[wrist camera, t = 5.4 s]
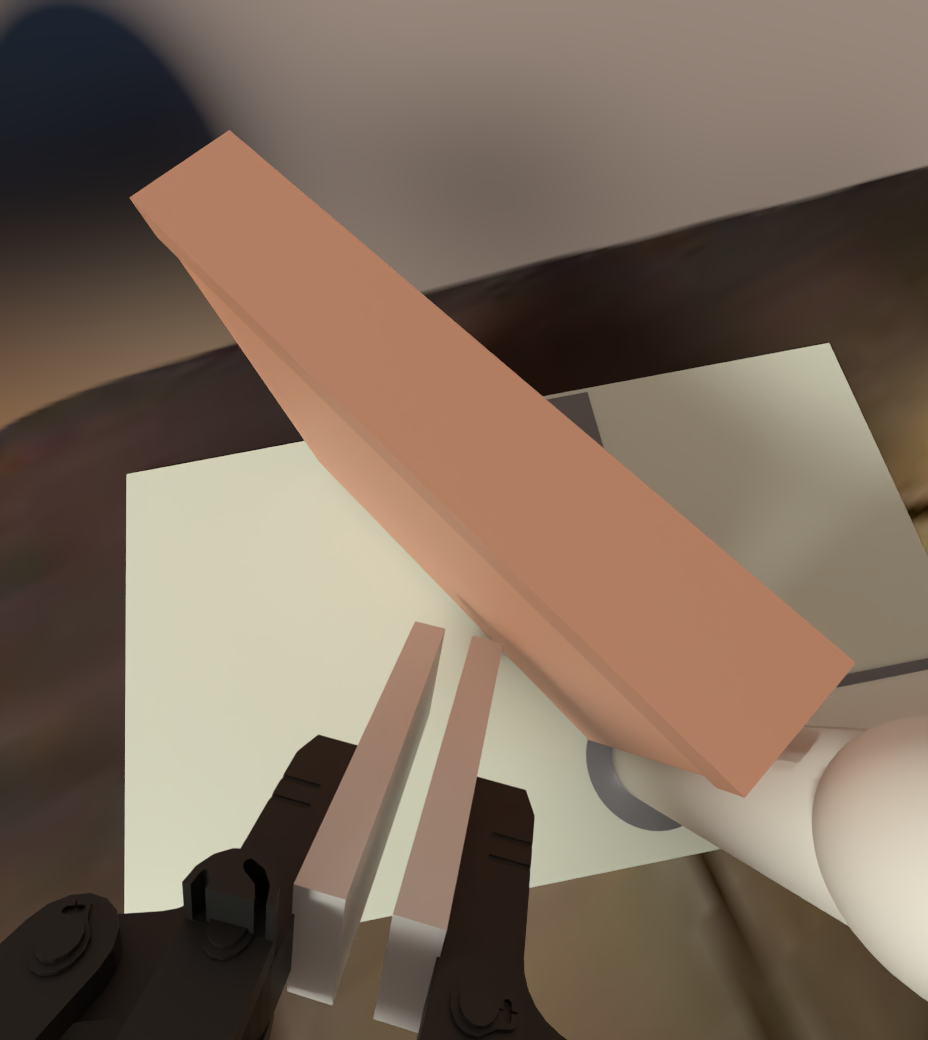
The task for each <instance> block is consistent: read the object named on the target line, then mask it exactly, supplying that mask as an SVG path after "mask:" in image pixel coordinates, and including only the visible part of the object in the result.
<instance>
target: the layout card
mask: <svg viewBox="0 0 928 1040" xmlns="http://www.w3.org/2000/svg"><path fill="white" fill-rule="evenodd" d="M543 397H544V398H545V399H546V400H547V401H549V402H550V403H551V404H552V405H553V406H555V407H556V408H557V409H558V410H559V411H560V412H562V413H563V414H564V415H565V416H566V417H567V418H569V419H570V420H571V421H572V422H573V423H575V424H576V425H577V426H578V427H579V428H580V429H582V430H583V431H584V432H585V433H586V434H587V435H589V436H590V437H591V438H592V439H593V440H595V441H596V442H597V443H598V444H599V445H600V446H602V447H603V448H604V449H605V450H606V451H607V452H609V453H610V454H611V455H612V456H613V457H615V458H616V459H617V460H618V461H619V462H620V463H622V464H623V465H624V466H625V467H626V468H627V469H629V470H630V471H631V472H632V473H633V474H635V475H636V476H637V477H638V478H639V479H640V480H642V481H643V482H644V483H645V484H646V485H647V486H649V487H650V488H651V489H652V490H653V491H655V492H656V493H657V494H658V495H659V496H660V497H662V498H663V499H664V500H665V501H666V502H667V503H669V504H670V505H671V506H672V507H673V508H675V509H676V510H677V511H678V512H679V513H680V514H682V515H683V516H684V517H685V518H686V519H687V520H689V521H690V522H691V523H692V524H693V525H695V526H696V527H697V528H698V529H699V530H700V531H702V532H703V533H704V534H705V535H706V536H707V537H709V538H710V539H711V540H712V541H713V542H715V543H716V544H717V545H718V546H719V547H720V548H722V549H723V550H724V551H725V552H726V553H727V554H729V555H730V556H731V557H732V558H733V559H735V560H736V561H737V562H738V563H739V564H740V565H742V566H743V567H744V568H745V569H746V570H747V571H749V572H750V573H751V574H752V575H753V576H755V577H756V578H757V579H758V580H759V581H760V582H762V583H763V584H764V585H765V586H766V587H768V588H769V589H770V590H771V591H772V592H773V593H775V594H776V595H777V596H778V597H779V598H780V599H782V600H783V601H784V602H785V603H786V604H788V605H789V606H790V607H791V608H792V609H793V610H795V611H796V612H797V613H798V614H799V615H800V616H802V617H803V618H804V619H805V620H806V621H808V622H809V623H810V624H811V625H812V626H813V627H815V628H816V629H817V630H818V631H819V632H820V633H822V634H823V635H824V636H825V637H826V638H828V639H829V640H830V641H831V642H832V643H833V644H835V645H836V646H837V647H838V648H839V649H840V650H842V651H843V652H844V653H845V654H846V655H848V656H849V657H850V658H851V659H852V660H853V661H855V662H856V664H855V665H854V666H853V667H852V668H851V670H850V671H849V672H848V673H847V674H846V676H845V677H844V678H843V679H842V681H841V682H840V683H839V684H838V685H837V687H842V686H847V685H852V684H858V683H863V682H868V681H873V680H878V679H883V678H888V677H893V676H898V675H903V674H908V673H913V672H918V671H923V670H928V555H927V553H926V551H925V548H924V546H923V544H922V542H921V540H920V538H919V535H918V533H917V531H916V529H915V527H914V525H913V523H912V520H911V518H910V516H909V514H908V512H907V510H906V507H905V505H904V503H903V501H902V499H901V497H900V494H899V492H898V490H897V488H896V486H895V484H894V482H893V479H892V477H891V475H890V473H889V471H888V469H887V466H886V464H885V462H884V460H883V458H882V456H881V454H880V451H879V449H878V447H877V445H876V443H875V441H874V438H873V436H872V434H871V432H870V430H869V428H868V425H867V423H866V421H865V419H864V417H863V415H862V413H861V410H860V408H859V406H858V404H857V402H856V400H855V397H854V395H853V393H852V391H851V389H850V387H849V384H848V382H847V380H846V378H845V376H844V374H843V372H842V369H841V367H840V365H839V363H838V361H837V359H836V356H835V354H834V352H833V350H832V348H831V346H830V343H826V344H820V345H815V346H810V347H804V348H799V349H794V350H788V351H783V352H778V353H772V354H767V355H762V356H756V357H751V358H746V359H740V360H735V361H730V362H724V363H719V364H714V365H708V366H703V367H697V368H692V369H687V370H681V371H676V372H671V373H665V374H660V375H655V376H649V377H644V378H639V379H633V380H628V381H623V382H617V383H612V384H607V385H601V386H596V387H591V388H585V389H580V390H575V391H569V392H564V393H558V394H553V395H548V396H543ZM415 621H416V622H420V623H424V624H428V625H432V626H436V627H440V628H444V629H445V633H444V639H443V644H442V650H441V655H440V660H439V666H438V671H437V676H436V682H435V687H434V693H433V698H432V703H431V709H430V714H429V717H428V720H427V723H426V726H425V729H424V732H423V735H422V738H421V741H420V744H419V747H418V750H417V753H416V756H415V759H414V762H413V765H412V768H411V771H410V774H409V777H408V780H407V783H406V786H405V789H404V792H403V795H402V798H401V801H400V804H399V807H398V810H397V813H396V816H395V819H394V822H393V825H392V828H391V831H390V834H389V837H388V840H387V843H386V846H385V849H384V852H383V855H382V858H381V861H380V864H379V867H378V870H377V873H376V876H375V879H374V882H373V885H372V888H371V891H370V894H369V897H368V900H367V903H366V906H365V909H364V912H363V915H362V918H361V921H360V922H363V921H368V920H373V919H378V918H383V917H387V916H392V915H393V912H394V908H395V905H396V901H397V898H398V894H399V891H400V887H401V884H402V880H403V877H404V873H405V870H406V866H407V863H408V859H409V856H410V852H411V849H412V845H413V842H414V838H415V835H416V831H417V828H418V824H419V821H420V817H421V814H422V810H423V807H424V803H425V800H426V796H427V793H428V789H429V786H430V782H431V779H432V775H433V772H434V768H435V765H436V761H437V758H438V754H439V751H440V747H441V744H442V740H443V737H444V733H445V730H446V726H447V723H448V719H449V716H450V712H451V709H452V705H453V702H454V698H455V695H456V691H457V688H458V684H459V681H460V677H461V674H462V670H463V667H464V663H465V660H466V656H467V653H468V649H469V646H470V642H471V639H472V636H476V637H480V638H484V639H488V640H492V639H491V638H490V637H489V636H488V635H487V634H486V633H485V632H484V631H483V630H482V629H481V628H480V627H479V626H478V625H477V624H476V623H475V622H474V621H473V620H472V619H471V618H470V617H469V616H468V615H467V614H466V613H465V612H464V611H463V610H462V609H461V607H460V606H459V605H458V604H457V603H456V602H455V601H454V600H453V599H452V598H451V597H450V596H449V595H448V594H447V593H446V592H445V591H444V590H443V589H442V588H441V587H440V586H439V585H438V584H437V583H436V582H435V581H434V580H433V579H432V578H431V577H430V576H429V574H428V573H427V572H426V571H425V570H424V569H423V568H422V567H421V566H420V565H419V564H418V563H417V562H416V561H415V560H414V559H413V558H412V557H411V556H410V555H409V554H408V553H407V552H406V551H405V550H404V549H403V548H402V547H401V546H400V545H399V544H398V543H397V541H396V540H395V539H394V538H393V537H392V536H391V535H390V534H389V533H388V532H387V531H386V530H385V529H384V528H383V527H382V526H381V525H380V524H379V523H378V522H377V521H376V520H375V519H374V518H373V517H372V516H371V515H370V514H369V513H368V512H367V511H366V510H365V508H364V507H363V506H362V505H361V504H360V503H359V502H358V501H357V500H356V499H355V498H354V497H353V496H352V495H351V494H350V493H349V492H348V491H347V490H346V489H345V488H344V487H343V486H342V485H341V484H340V483H339V482H338V481H337V480H336V479H335V478H334V477H333V475H332V474H331V473H330V472H329V471H328V470H327V469H326V468H325V467H324V466H323V465H322V464H321V463H320V462H319V461H318V459H317V458H316V456H315V455H314V454H313V452H312V451H311V449H310V448H309V446H308V445H307V443H306V442H305V441H302V442H297V443H291V444H286V445H280V446H275V447H270V448H264V449H259V450H254V451H248V452H243V453H238V454H232V455H227V456H222V457H216V458H211V459H206V460H200V461H195V462H190V463H184V464H179V465H174V466H168V467H163V468H158V469H152V470H147V471H141V472H136V473H131V474H127V492H126V699H125V905H124V914H125V913H140V912H154V911H165V910H170V909H176V908H179V907H182V906H184V903H183V889H182V882H183V880H184V879H185V878H186V877H187V876H188V874H189V873H190V872H191V871H192V870H193V868H194V867H195V866H196V865H198V864H199V863H201V862H202V861H204V860H205V859H207V858H208V857H210V856H211V855H213V854H215V853H218V852H222V851H225V850H229V849H232V848H241V847H242V845H243V843H244V841H245V840H246V838H247V836H248V835H249V833H250V831H251V829H252V828H253V826H254V824H255V823H256V821H257V819H258V817H259V816H260V814H261V812H262V811H263V809H264V807H265V805H266V804H267V802H268V800H269V799H270V798H271V797H272V794H273V792H274V790H275V788H276V787H277V785H278V783H279V781H280V780H281V779H282V778H283V775H284V773H285V771H286V769H287V768H288V766H289V764H290V762H291V761H292V759H293V757H294V756H295V754H296V752H297V751H298V750H299V749H301V748H302V747H303V746H304V745H306V744H307V743H308V742H309V741H311V740H312V739H313V738H314V737H316V736H317V735H322V736H326V737H329V738H333V739H336V740H340V741H344V742H347V743H351V744H355V745H358V744H359V742H360V739H361V737H362V735H363V733H364V731H365V729H366V726H367V724H368V722H369V720H370V718H371V716H372V713H373V711H374V709H375V707H376V705H377V703H378V700H379V698H380V696H381V694H382V692H383V690H384V687H385V685H386V683H387V681H388V679H389V677H390V674H391V672H392V670H393V668H394V666H395V664H396V661H397V659H398V657H399V655H400V653H401V651H402V648H403V646H404V644H405V642H406V640H407V638H408V636H409V633H410V631H411V629H412V627H413V625H414V623H415ZM492 641H493V640H492ZM837 687H836V688H837ZM477 777H481V778H484V779H488V780H492V781H495V782H499V783H502V784H506V785H510V786H513V787H517V788H521V789H524V790H526V792H527V795H528V797H529V800H530V803H531V806H532V809H533V812H534V815H535V819H534V832H533V844H532V858H531V867H530V884H529V888H531V887H536V886H541V885H545V884H550V883H555V882H560V881H565V880H570V879H575V878H580V877H585V876H590V875H595V874H600V873H605V872H610V871H615V870H619V869H624V868H629V867H634V866H639V865H644V864H649V863H654V862H659V861H664V860H669V859H674V858H679V857H684V856H689V855H694V854H698V853H703V852H708V851H713V850H718V849H720V848H718V847H717V846H715V845H714V844H712V843H710V842H709V841H707V840H705V839H704V838H702V837H700V836H699V835H697V834H695V833H694V832H692V831H690V830H689V829H687V828H685V827H684V826H682V825H680V824H679V823H677V822H676V821H674V820H672V819H671V818H669V817H667V816H666V815H664V814H662V813H661V812H659V811H657V810H656V809H654V808H652V807H651V806H649V805H647V804H646V803H644V802H642V801H641V800H639V799H638V798H636V797H634V796H633V795H631V794H630V793H629V792H627V791H626V790H625V788H624V787H623V786H622V785H621V784H620V782H619V780H618V779H617V777H616V775H615V772H614V769H613V765H612V747H610V746H606V745H603V744H600V743H597V742H594V741H590V740H589V739H588V738H587V737H586V736H585V735H584V734H583V733H582V732H581V731H580V730H579V729H578V728H577V727H576V726H575V725H574V724H573V723H572V722H571V721H570V720H569V719H568V718H567V717H566V716H565V715H564V714H563V713H562V712H561V711H560V710H559V709H558V707H557V706H556V705H555V704H554V703H553V702H552V701H551V700H550V699H549V698H548V697H547V696H546V695H545V694H544V693H543V692H542V691H541V690H540V689H539V688H538V687H537V686H536V685H535V684H534V683H533V682H532V681H531V680H530V679H529V678H528V677H527V676H526V674H525V673H524V672H523V671H522V670H521V669H520V668H519V667H518V666H517V665H516V664H515V663H514V662H513V661H512V660H511V659H510V658H509V657H508V656H507V655H506V654H505V653H504V652H503V651H502V653H501V658H500V663H499V668H498V673H497V678H496V683H495V688H494V693H493V698H492V703H491V708H490V713H489V719H488V724H487V729H486V734H485V739H484V744H483V749H482V754H481V759H480V764H479V769H478V774H477Z"/></svg>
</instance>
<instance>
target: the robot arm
mask: <svg viewBox="0 0 928 1040" xmlns="http://www.w3.org/2000/svg"><path fill="white" fill-rule="evenodd" d="M444 633H445V629H444V628H440V627H436V626H432V625H428V624H424V623H420V622H416V621H415V623H414V625H413V627H412V629H411V631H410V633H409V636H408V638H407V640H406V642H405V644H404V646H403V648H402V651H401V653H400V655H399V657H398V659H397V661H396V664H395V666H394V668H393V670H392V672H391V674H390V677H389V679H388V681H387V683H386V685H385V687H384V690H383V692H382V694H381V696H380V698H379V700H378V703H377V705H376V707H375V709H374V711H373V713H372V716H371V718H370V720H369V722H368V724H367V726H366V729H365V731H364V733H363V735H362V737H361V739H360V742H359V744H358V745H355V744H351V743H347V742H344V741H340V740H336V739H333V738H329V737H326V736H322V735H317V736H316V737H314V738H313V739H312V740H311V741H309V742H308V743H307V744H306V745H304V746H303V747H302V748H301V749H299V750H298V751H297V752H296V754H295V756H294V757H293V759H292V761H291V762H290V764H289V766H288V768H287V769H286V771H285V773H284V775H283V778H282V779H281V780H280V781H279V783H278V785H277V787H276V788H275V790H274V792H273V794H272V797H271V798H270V799H269V800H268V802H267V804H266V805H265V807H264V809H263V811H262V812H261V814H260V816H259V817H258V819H257V821H256V823H255V824H254V826H253V828H252V829H251V831H250V833H249V835H248V836H247V838H246V840H245V841H244V843H243V845H242V847H241V848H232V849H229V850H225V851H222V852H218V853H215V854H213V855H211V856H210V857H208V858H207V859H205V860H204V861H202V862H201V863H199V864H198V865H196V866H195V867H194V868H193V870H192V871H191V872H190V873H189V874H188V876H187V877H186V878H185V879H184V880H183V882H182V889H183V903H184V906H182V907H179V908H176V909H170V910H165V911H154V912H140V913H125V914H117V910H116V909H115V908H114V906H113V905H112V904H111V903H110V902H109V901H108V899H107V898H104V897H100V896H97V895H94V894H91V893H88V894H78V895H69V896H67V897H64V898H62V899H60V900H57V901H55V902H52V903H50V904H48V905H46V906H45V907H43V908H42V909H41V910H39V911H38V912H36V913H35V914H34V915H32V916H31V917H30V918H28V919H27V920H26V921H25V922H24V923H22V924H21V925H20V926H19V927H18V928H17V929H16V930H15V931H14V932H13V933H12V934H10V935H9V936H8V937H7V938H6V939H5V940H4V941H3V942H2V943H1V944H0V1040H269V1038H270V1033H271V1028H272V1023H273V1018H274V1010H275V1007H276V1005H277V1003H278V1000H279V998H280V995H281V993H282V990H283V988H284V985H285V983H286V981H287V978H288V983H287V991H288V992H292V993H295V994H298V995H301V996H304V997H307V998H310V999H313V1000H316V1001H320V1002H323V1003H326V1004H329V1005H333V1002H334V999H335V996H336V993H337V990H338V987H339V984H340V981H341V978H342V975H343V972H344V969H345V966H346V963H347V960H348V957H349V954H350V951H351V948H352V945H353V942H354V939H355V936H356V933H357V930H358V927H359V924H360V921H361V918H362V915H363V912H364V909H365V906H366V903H367V900H368V897H369V894H370V891H371V888H372V885H373V882H374V879H375V876H376V873H377V870H378V867H379V864H380V861H381V858H382V855H383V852H384V849H385V846H386V843H387V840H388V837H389V834H390V831H391V828H392V825H393V822H394V819H395V816H396V813H397V810H398V807H399V804H400V801H401V798H402V795H403V792H404V789H405V786H406V783H407V780H408V777H409V774H410V771H411V768H412V765H413V762H414V759H415V756H416V753H417V750H418V747H419V744H420V741H421V738H422V735H423V732H424V729H425V726H426V723H427V720H428V717H429V714H430V709H431V703H432V698H433V693H434V687H435V682H436V676H437V671H438V666H439V660H440V655H441V650H442V644H443V639H444ZM502 647H503V643H500V642H496V641H492V640H488V639H484V638H480V637H476V636H472V639H471V642H470V646H469V649H468V653H467V656H466V660H465V663H464V667H463V670H462V674H461V677H460V681H459V684H458V688H457V691H456V695H455V698H454V702H453V705H452V709H451V712H450V716H449V719H448V723H447V726H446V730H445V733H444V737H443V740H442V744H441V747H440V751H439V754H438V758H437V761H436V765H435V768H434V772H433V775H432V779H431V782H430V786H429V789H428V793H427V796H426V800H425V803H424V807H423V810H422V814H421V817H420V821H419V824H418V828H417V831H416V835H415V838H414V842H413V845H412V849H411V852H410V856H409V859H408V863H407V866H406V870H405V873H404V877H403V880H402V884H401V887H400V891H399V894H398V898H397V901H396V905H395V908H394V912H393V916H392V921H391V927H390V932H389V937H388V943H387V948H386V954H385V959H384V964H383V970H382V975H381V980H380V986H379V991H378V996H377V1002H376V1007H375V1012H374V1018H373V1019H375V1020H378V1021H381V1022H385V1023H388V1024H391V1025H394V1026H397V1027H400V1028H403V1029H406V1030H410V1031H413V1032H416V1033H418V1037H417V1040H567V1039H565V1038H564V1037H563V1036H561V1035H560V1034H559V1033H558V1032H557V1031H556V1030H555V1029H554V1028H552V1027H551V1026H550V1025H549V1024H548V1023H547V1022H546V1021H545V1019H544V1018H543V1016H542V1015H541V1013H540V1012H539V1011H538V1009H537V1008H536V1006H535V1004H534V1002H533V1000H532V997H531V995H530V993H529V991H528V987H527V983H526V979H525V974H524V949H525V936H526V923H527V910H528V897H529V884H530V867H531V858H532V844H533V832H534V819H535V815H534V812H533V809H532V806H531V803H530V800H529V797H528V795H527V792H526V790H524V789H521V788H517V787H513V786H510V785H506V784H502V783H499V782H495V781H492V780H488V779H484V778H481V777H477V774H478V769H479V764H480V759H481V754H482V749H483V744H484V739H485V734H486V729H487V724H488V719H489V713H490V708H491V703H492V698H493V693H494V688H495V683H496V678H497V673H498V668H499V663H500V658H501V653H502Z"/></svg>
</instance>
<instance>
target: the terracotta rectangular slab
mask: <svg viewBox="0 0 928 1040" xmlns="http://www.w3.org/2000/svg"><path fill="white" fill-rule="evenodd" d="M130 199H131V200H132V202H133V203H134V205H135V206H136V208H137V209H138V210H139V212H140V213H141V215H142V216H143V218H144V219H145V220H146V222H147V223H148V225H149V226H150V227H151V229H152V230H153V232H154V233H155V235H156V236H157V237H158V238H159V239H160V240H161V241H162V242H163V243H164V244H165V245H166V246H167V247H168V248H169V249H170V250H171V251H172V252H173V253H174V254H175V255H176V256H177V257H178V258H179V259H180V261H181V262H182V264H183V265H184V266H185V268H186V269H187V271H188V272H189V274H190V275H191V277H192V278H193V280H194V281H195V282H196V284H197V285H198V287H199V288H200V290H201V291H202V293H203V294H204V295H205V297H206V298H207V300H208V301H209V303H210V304H211V306H212V307H213V308H214V310H215V311H216V312H217V314H218V316H219V317H220V318H221V320H222V322H223V323H224V324H225V326H226V327H227V329H228V330H229V332H230V333H231V335H232V336H233V337H234V339H235V340H236V342H237V343H238V345H239V346H240V348H241V349H242V351H243V352H244V353H245V355H246V356H247V358H248V359H249V361H250V362H251V364H252V365H253V367H254V368H255V369H256V371H257V372H258V374H259V375H260V377H261V378H262V380H263V381H264V382H265V384H266V385H267V387H268V388H269V390H270V391H271V393H272V394H273V396H274V397H275V398H276V400H277V401H278V403H279V404H280V406H281V407H282V409H283V410H284V411H285V413H286V414H287V416H288V417H289V419H290V420H291V422H292V423H293V425H294V426H295V427H296V429H297V430H298V432H299V433H300V435H301V436H302V438H303V439H304V440H305V442H306V443H307V445H308V446H309V448H310V449H311V451H312V452H313V454H314V455H315V456H316V458H317V459H318V461H319V462H320V463H321V464H322V465H323V466H324V467H325V468H326V469H327V470H328V471H329V472H330V473H331V474H332V475H333V477H334V478H335V479H336V480H337V481H338V482H339V483H340V484H341V485H342V486H343V487H344V488H345V489H346V490H347V491H348V492H349V493H350V494H351V495H352V496H353V497H354V498H355V499H356V500H357V501H358V502H359V503H360V504H361V505H362V506H363V507H364V508H365V510H366V511H367V512H368V513H369V514H370V515H371V516H372V517H373V518H374V519H375V520H376V521H377V522H378V523H379V524H380V525H381V526H382V527H383V528H384V529H385V530H386V531H387V532H388V533H389V534H390V535H391V536H392V537H393V538H394V539H395V540H396V541H397V543H398V544H399V545H400V546H401V547H402V548H403V549H404V550H405V551H406V552H407V553H408V554H409V555H410V556H411V557H412V558H413V559H414V560H415V561H416V562H417V563H418V564H419V565H420V566H421V567H422V568H423V569H424V570H425V571H426V572H427V573H428V574H429V576H430V577H431V578H432V579H433V580H434V581H435V582H436V583H437V584H438V585H439V586H440V587H441V588H442V589H443V590H444V591H445V592H446V593H447V594H448V595H449V596H450V597H451V598H452V599H453V600H454V601H455V602H456V603H457V604H458V605H459V606H460V607H461V609H462V610H463V611H464V612H465V613H466V614H467V615H468V616H469V617H470V618H471V619H472V620H473V621H474V622H475V623H476V624H477V625H478V626H479V627H480V628H481V629H482V630H483V631H484V632H485V633H486V634H487V635H488V636H489V637H490V638H491V639H492V640H493V641H496V642H500V643H503V647H502V651H503V652H504V653H505V654H506V655H507V656H508V657H509V658H510V659H511V660H512V661H513V662H514V663H515V664H516V665H517V666H518V667H519V668H520V669H521V670H522V671H523V672H524V673H525V674H526V676H527V677H528V678H529V679H530V680H531V681H532V682H533V683H534V684H535V685H536V686H537V687H538V688H539V689H540V690H541V691H542V692H543V693H544V694H545V695H546V696H547V697H548V698H549V699H550V700H551V701H552V702H553V703H554V704H555V705H556V706H557V707H558V709H559V710H560V711H561V712H562V713H563V714H564V715H565V716H566V717H567V718H568V719H569V720H570V721H571V722H572V723H573V724H574V725H575V726H576V727H577V728H578V729H579V730H580V731H581V732H582V733H583V734H584V735H585V736H586V737H587V738H588V739H589V740H590V741H594V742H597V743H600V744H603V745H606V746H610V747H613V748H616V749H619V750H622V751H626V752H629V753H632V754H635V755H638V756H642V757H645V758H648V759H651V760H654V761H658V762H661V763H664V764H667V765H670V766H674V767H677V768H680V769H683V770H686V771H690V772H693V773H696V774H699V775H702V776H705V777H706V778H707V779H708V780H709V781H710V782H711V783H712V784H713V785H714V786H715V787H716V788H718V789H721V790H724V791H727V792H730V793H733V794H735V795H738V796H741V797H744V798H745V797H746V796H747V795H748V793H749V792H750V791H751V790H752V789H753V787H754V786H755V785H756V784H757V783H758V781H759V780H760V779H761V778H762V776H763V775H764V774H765V773H766V772H767V770H768V769H769V768H770V767H771V766H772V764H773V763H774V762H775V761H776V759H777V758H778V757H779V756H780V755H781V753H782V752H783V751H784V750H785V749H786V747H787V746H788V745H789V744H790V742H791V741H792V740H793V739H794V738H795V736H796V735H797V734H798V733H799V732H800V730H801V729H802V728H803V727H804V725H805V724H806V723H807V722H808V721H809V719H810V718H811V717H812V716H813V715H814V713H815V712H816V711H817V710H818V708H819V707H820V706H821V705H822V704H823V702H824V701H825V700H826V699H827V698H828V696H829V695H830V694H831V693H832V691H833V690H834V689H835V688H836V687H837V685H838V684H839V683H840V682H841V681H842V679H843V678H844V677H845V676H846V674H847V673H848V672H849V671H850V670H851V668H852V667H853V666H854V665H855V664H856V662H855V661H853V660H852V659H851V658H850V657H849V656H848V655H846V654H845V653H844V652H843V651H842V650H840V649H839V648H838V647H837V646H836V645H835V644H833V643H832V642H831V641H830V640H829V639H828V638H826V637H825V636H824V635H823V634H822V633H820V632H819V631H818V630H817V629H816V628H815V627H813V626H812V625H811V624H810V623H809V622H808V621H806V620H805V619H804V618H803V617H802V616H800V615H799V614H798V613H797V612H796V611H795V610H793V609H792V608H791V607H790V606H789V605H788V604H786V603H785V602H784V601H783V600H782V599H780V598H779V597H778V596H777V595H776V594H775V593H773V592H772V591H771V590H770V589H769V588H768V587H766V586H765V585H764V584H763V583H762V582H760V581H759V580H758V579H757V578H756V577H755V576H753V575H752V574H751V573H750V572H749V571H747V570H746V569H745V568H744V567H743V566H742V565H740V564H739V563H738V562H737V561H736V560H735V559H733V558H732V557H731V556H730V555H729V554H727V553H726V552H725V551H724V550H723V549H722V548H720V547H719V546H718V545H717V544H716V543H715V542H713V541H712V540H711V539H710V538H709V537H707V536H706V535H705V534H704V533H703V532H702V531H700V530H699V529H698V528H697V527H696V526H695V525H693V524H692V523H691V522H690V521H689V520H687V519H686V518H685V517H684V516H683V515H682V514H680V513H679V512H678V511H677V510H676V509H675V508H673V507H672V506H671V505H670V504H669V503H667V502H666V501H665V500H664V499H663V498H662V497H660V496H659V495H658V494H657V493H656V492H655V491H653V490H652V489H651V488H650V487H649V486H647V485H646V484H645V483H644V482H643V481H642V480H640V479H639V478H638V477H637V476H636V475H635V474H633V473H632V472H631V471H630V470H629V469H627V468H626V467H625V466H624V465H623V464H622V463H620V462H619V461H618V460H617V459H616V458H615V457H613V456H612V455H611V454H610V453H609V452H607V451H606V450H605V449H604V448H603V447H602V446H600V445H599V444H598V443H597V442H596V441H595V440H593V439H592V438H591V437H590V436H589V435H587V434H586V433H585V432H584V431H583V430H582V429H580V428H579V427H578V426H577V425H576V424H575V423H573V422H572V421H571V420H570V419H569V418H567V417H566V416H565V415H564V414H563V413H562V412H560V411H559V410H558V409H557V408H556V407H555V406H553V405H552V404H551V403H550V402H549V401H547V400H546V399H545V398H544V397H543V396H542V395H540V394H539V393H538V392H537V391H536V390H535V389H533V388H532V387H531V386H530V385H529V384H527V383H526V382H525V381H524V380H523V379H522V378H520V377H519V376H518V375H517V374H516V373H514V372H513V371H512V370H511V369H510V368H509V367H507V366H506V365H505V364H504V363H503V362H502V361H500V360H499V359H498V358H497V357H496V356H494V355H493V354H492V353H491V352H490V351H489V350H487V349H486V348H485V347H484V346H483V345H482V344H480V343H479V342H478V341H477V340H476V339H474V338H473V337H472V336H471V335H470V334H469V333H467V332H466V331H465V330H464V329H463V328H462V327H460V326H459V325H458V324H457V323H456V322H454V321H453V320H452V319H451V318H450V317H449V316H447V315H446V314H445V313H444V312H443V311H442V310H440V309H439V308H438V307H437V306H436V305H434V304H433V303H432V302H431V301H430V300H429V299H427V298H426V297H425V296H424V295H423V294H422V293H420V292H419V291H418V290H417V289H416V288H414V287H413V286H412V285H411V284H410V283H408V282H407V281H406V280H405V279H404V278H403V277H402V276H400V275H399V274H398V273H397V272H396V271H394V270H393V269H392V268H391V267H390V266H388V265H387V264H386V263H385V262H384V261H383V260H382V259H380V258H379V257H378V256H377V255H376V254H374V253H373V252H372V251H371V250H370V249H369V248H367V247H366V246H365V245H364V244H363V243H362V242H360V241H359V240H358V239H357V238H356V237H354V236H353V235H352V234H351V233H350V232H349V231H347V230H346V229H345V228H344V227H342V226H341V225H340V224H339V223H338V222H337V221H336V220H334V219H333V218H332V217H331V216H330V215H329V214H327V213H326V212H325V211H324V210H323V209H321V208H320V207H319V206H318V205H317V204H316V203H314V202H313V201H312V200H311V199H310V198H309V197H307V196H306V195H305V194H304V193H303V192H301V191H300V190H299V189H298V188H297V187H295V186H294V185H293V184H292V183H291V182H290V181H289V180H287V179H286V178H285V177H284V176H283V175H281V174H280V173H279V172H278V171H277V170H275V169H274V168H273V167H272V166H271V165H270V164H268V163H267V162H266V161H265V160H264V159H263V158H261V157H260V156H259V155H258V154H257V153H256V152H254V151H253V150H252V149H251V148H250V147H249V146H247V145H246V144H245V143H244V142H243V141H241V140H240V139H239V138H238V137H237V136H236V135H234V134H233V133H232V132H231V131H230V130H229V131H228V132H226V133H225V134H223V135H222V136H220V137H219V138H217V139H216V140H214V141H213V142H211V143H210V144H208V145H207V146H205V147H204V148H202V149H201V150H200V151H198V152H197V153H195V154H194V155H192V156H191V157H189V158H188V159H186V160H185V161H183V162H182V163H180V164H179V165H177V166H176V167H174V168H173V169H171V170H170V171H168V172H167V173H165V174H164V175H162V176H161V177H159V178H158V179H157V180H155V181H154V182H152V183H151V184H149V185H148V186H146V187H145V188H143V189H142V190H140V191H139V192H137V193H136V194H134V195H133V196H131V197H130Z"/></svg>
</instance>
